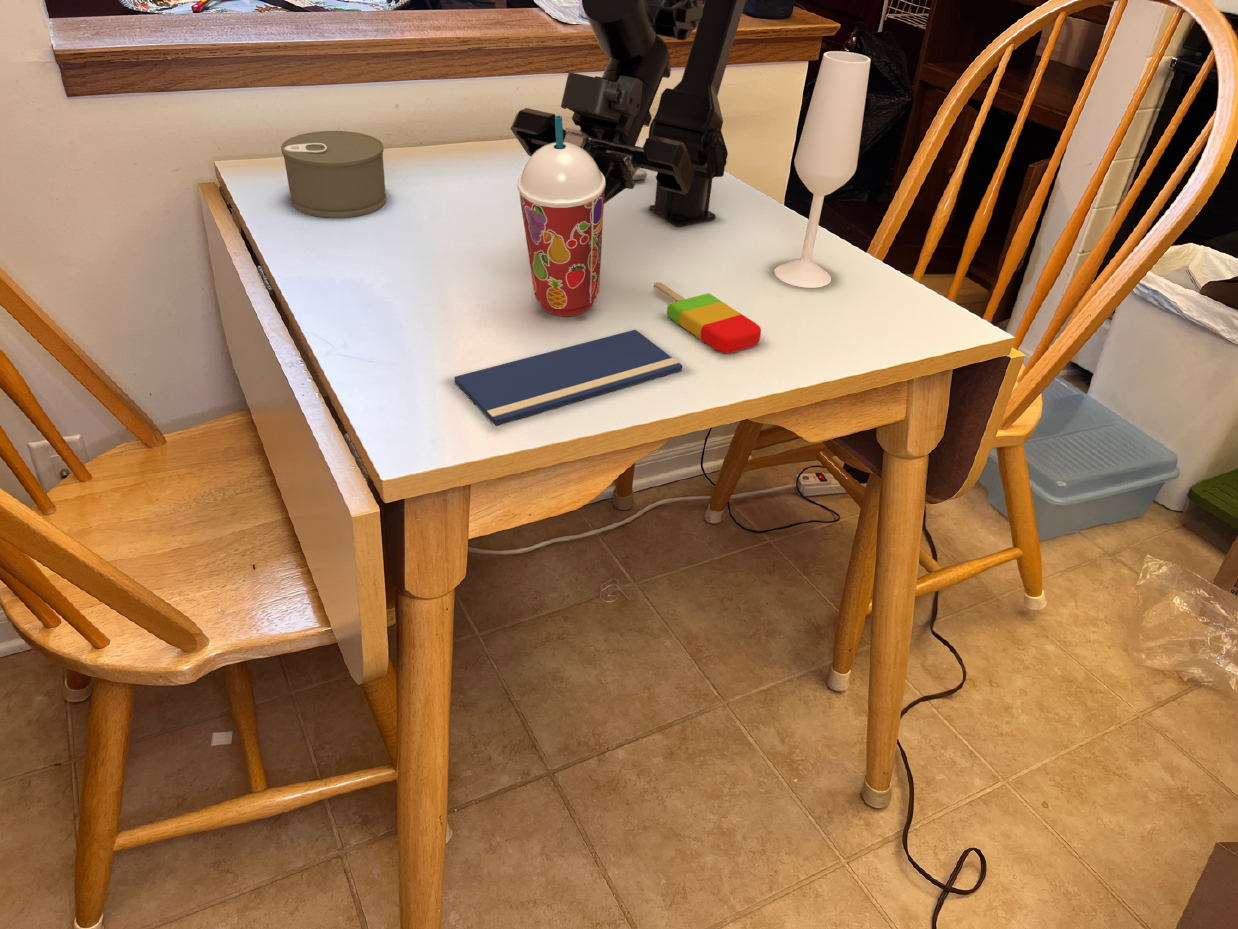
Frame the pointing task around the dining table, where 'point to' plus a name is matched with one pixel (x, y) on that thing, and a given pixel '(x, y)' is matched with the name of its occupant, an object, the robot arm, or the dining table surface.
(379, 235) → the dining table surface
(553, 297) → the smoothie
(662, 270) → the dining table surface
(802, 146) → the champagne flute
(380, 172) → the can
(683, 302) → the popsicle
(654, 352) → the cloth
